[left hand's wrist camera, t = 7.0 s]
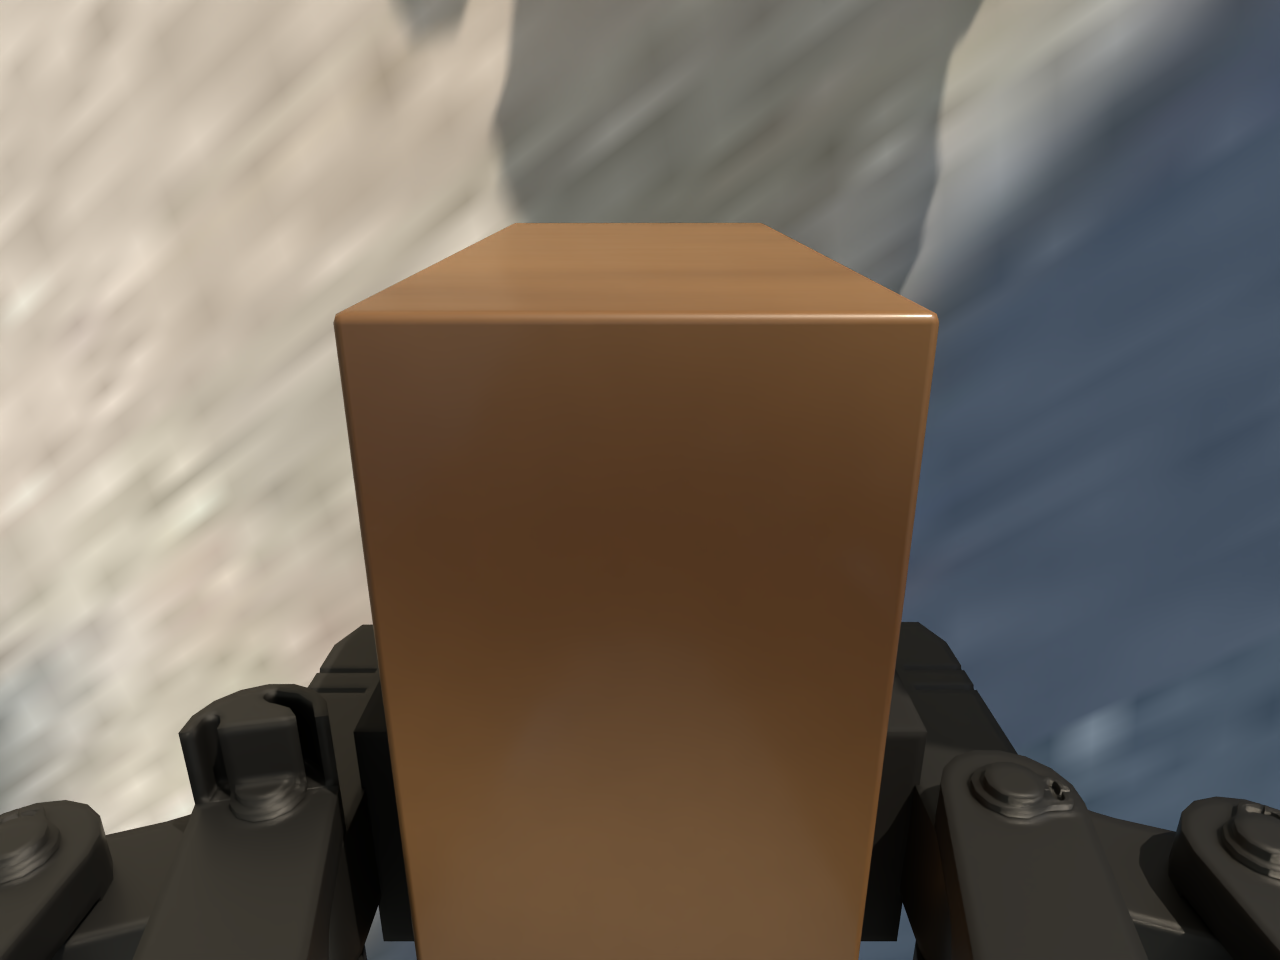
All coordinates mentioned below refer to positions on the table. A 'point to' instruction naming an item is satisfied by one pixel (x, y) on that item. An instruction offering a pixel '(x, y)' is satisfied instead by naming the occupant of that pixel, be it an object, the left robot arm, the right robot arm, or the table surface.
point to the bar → (636, 584)
